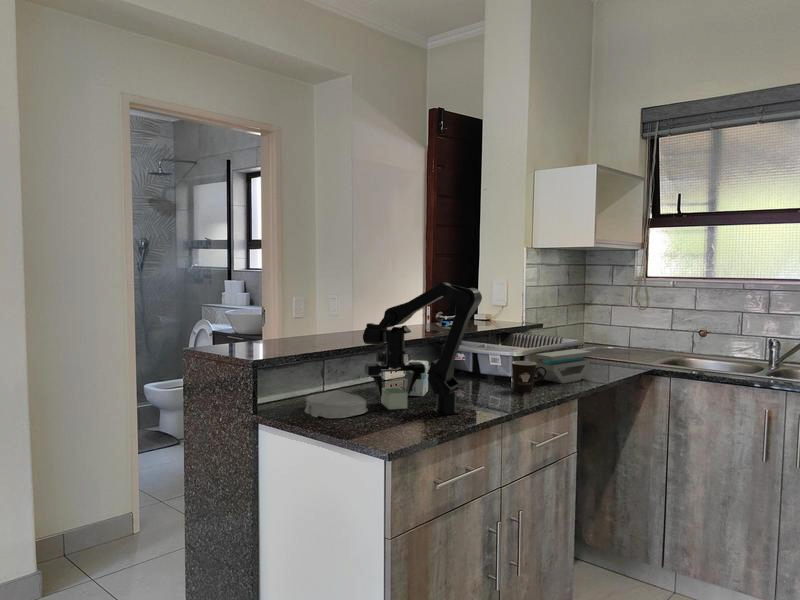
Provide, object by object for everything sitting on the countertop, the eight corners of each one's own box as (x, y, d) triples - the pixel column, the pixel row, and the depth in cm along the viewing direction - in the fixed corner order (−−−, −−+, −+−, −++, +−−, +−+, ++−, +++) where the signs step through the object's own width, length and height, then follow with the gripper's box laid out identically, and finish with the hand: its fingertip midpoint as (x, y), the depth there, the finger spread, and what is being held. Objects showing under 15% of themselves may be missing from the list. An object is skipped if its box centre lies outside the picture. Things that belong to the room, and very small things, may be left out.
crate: (407, 409, 195) (408, 393, 195) (388, 410, 193) (389, 394, 193) (398, 402, 204) (399, 387, 204) (380, 403, 202) (380, 387, 202)
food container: (291, 410, 193) (291, 388, 193) (346, 400, 205) (346, 380, 205) (324, 425, 177) (324, 402, 177) (381, 414, 189) (381, 392, 189)
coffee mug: (507, 391, 223) (508, 363, 222) (515, 387, 231) (516, 360, 230) (540, 395, 218) (541, 366, 217) (546, 390, 225) (547, 363, 224)
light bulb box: (423, 396, 212) (424, 365, 211) (404, 395, 213) (404, 364, 213) (428, 390, 222) (429, 360, 222) (409, 389, 224) (410, 359, 223)
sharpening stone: (574, 375, 256) (575, 349, 255) (590, 378, 250) (591, 351, 249) (534, 382, 241) (535, 354, 240) (551, 385, 235) (552, 356, 234)
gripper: (415, 342, 208) (414, 388, 209) (360, 343, 202) (359, 391, 203) (426, 347, 197) (425, 395, 198) (369, 348, 192) (368, 398, 193)
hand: (394, 395), depth 198 cm, fingers open, 9 cm apart
